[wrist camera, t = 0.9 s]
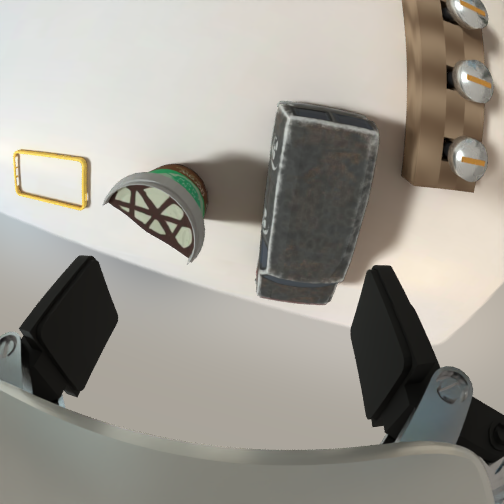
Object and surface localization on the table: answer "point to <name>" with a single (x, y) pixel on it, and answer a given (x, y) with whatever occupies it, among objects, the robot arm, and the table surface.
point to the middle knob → (471, 80)
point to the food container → (165, 205)
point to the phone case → (81, 160)
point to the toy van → (313, 201)
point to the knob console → (437, 94)
